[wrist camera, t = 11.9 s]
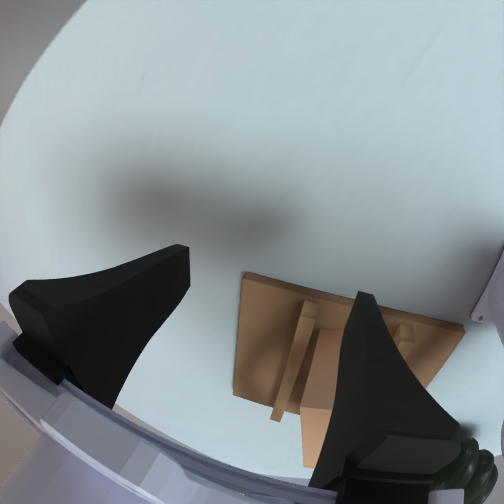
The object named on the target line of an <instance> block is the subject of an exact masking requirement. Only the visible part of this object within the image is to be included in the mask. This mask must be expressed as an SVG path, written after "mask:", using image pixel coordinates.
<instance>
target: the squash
mask: <svg viewBox="0 0 504 504" xmlns="http://www.w3.org/2000/svg"><path fill="white" fill-rule="evenodd" d="M460 438H461V437H460ZM497 478H498V471H497V468H496V466H495V464H494V456H493V454H492V453H491V452H489V451H488V450H485V449H482V450H479V445H478V442H477V441H476V440H475V439H474V438H469V439H466V440H464V441H463V440H462V438H461V452H460V453H459V455H458V456H457V457H456V458H455V459H454V460H453V461H452V462H451V463H449V464H448V465H446V466H445V467H443V468H442V469H440V470H439V471H437V472H435V481H434V483H433V484H430V487H429V492H432V491H436V490H451V489H463V490H464V502H463V504H482V503H483V502H484V501H485V500H486V498H487V497H488V496H489V495H490V493H491V492H492V490H493V488H494V486H495V484H496V481H497Z"/></svg>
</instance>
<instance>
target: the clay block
mask: <svg viewBox="0 0 504 504" xmlns="http://www.w3.org/2000/svg"><path fill="white" fill-rule="evenodd" d="M343 332H344V330H325V329H320V331H319V335H318V339H317V344H316V348H315V352H314V356H313V360H312V364H311V368H310V372H309V375H308V379H307V383H306V387H305V390H304V394H303V397H302V401H301V404H300V417H301V432H302V448H303V467H308V468H315V466H316V463H317V460H318V458H319V454H320V451H321V448H322V445H323V442H324V439H325V435H326V432H327V428H328V425H329V421H330V417H331V413H332V409H333V405H334V399H335V392H336V384H337V374H338V364H339V354H340V347H341V342H342V337H343Z"/></svg>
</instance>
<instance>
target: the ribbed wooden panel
mask: <svg viewBox="0 0 504 504" xmlns="http://www.w3.org/2000/svg"><path fill="white" fill-rule="evenodd" d="M354 302H355V300H354V299H350V298H346V297H342V296H338V295H334V294H330V293H326V292H322V291H318V290H314V289H310V288H306V287H302V286H298V285H295V284H291V283H287V282H283V281H279V280H275V279H272V278H268V277H264V276H260V275H257V274H253V273H249V272H246V274H245V275H244V277H243V280H242V291H241V303H240V315H239V327H238V339H237V351H236V363H235V375H234V388H233V395H235V396H238V397H241V398H244V399H247V400H250V401H253V402H256V403H259V404H263V405H266V406H269V407H273V411H272V415H271V418H270V419H271V420H274V421H278V422H280V421H281V418H282V415H283V413H284V411H287V412H290V413H294V414H298V415H300V404H301V401H302V397H303V394H304V390H305V387H306V383H307V379H308V375H309V372H310V368H311V364H312V360H313V356H314V352H315V348H316V344H317V339H318V335H319V331H320V329H325V330H344V328H345V325H346V323H347V320H348V317H349V315H350V312H351V310H352V307H353V304H354ZM378 307H379V310H380V312H381V314H382V317H383V319H384V321H385V324H386V326H387V328H388V330H389V332H390V334H391V336H392V338H393V340H394V342H395V344H396V346H397V348H398V350H399V352H400V353H401V355H402V357H403V358H404V360H405V361H406V363H407V365H408V366H409V368H410V369H411V371H412V372H413V373H414V375H415V376H416V378H417V379H418V380H419V381H420V383H421V384H422V385H423V387H424V388H426V387H427V386H428V384H429V383H430V382H431V381H432V379H433V378H434V377H435V375H436V374H437V373H438V372H439V370H440V369H441V368H442V366H443V365H444V364H445V362H446V361H447V359H448V358H449V357H450V355H451V354H452V352H453V351H454V349H455V348H456V347H457V345H458V344H459V342H460V341H461V339H462V338H463V336H464V334H465V330H464V327H463V325H459V324H455V323H450V322H446V321H441V320H437V319H433V318H428V317H424V316H420V315H416V314H411V313H407V312H403V311H399V310H395V309H390V308H386V307H382V306H378Z"/></svg>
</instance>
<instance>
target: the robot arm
mask: <svg viewBox="0 0 504 504" xmlns="http://www.w3.org/2000/svg"><path fill="white" fill-rule="evenodd" d="M189 287H190V257H189V247H187V246H183V245H179V244H175V245H172V246H169V247H166V248H164V249H161V250H158V251H156V252H153V253H151V254H148V255H146V256H143V257H141V258H138V259H136V260H133V261H130V262H127V263H124V264H122V265H119V266H116V267H113V268H110V269H106V270H102V271H99V272H95V273H90V274H85V275H80V276H75V277H68V278H60V279H46V280H26V281H25V282H23V283H22V284H21V285H20V286H18V287H17V288H16V289H14V290H13V291H12V292H11V293H10V294H9V303H10V307H11V309H12V311H13V313H14V316H15V318H16V320H17V322H18V324H19V326H20V328H21V330H22V332H23V333H22V334H20V335H19V336H18V334H17V333H16V332H15V331H14V330H13V329H12V328H11V327H10V326H9V325H8V324H7V323H6V322H5V321H2V322H1V323H0V393H1V394H2V395H3V396H4V398H5V399H6V400H7V401H8V402H9V403H10V404H11V405H12V406H13V407H14V408H15V410H16V411H17V412H18V413H19V414H20V415H21V416H22V417H23V418H24V419H25V420H26V421H27V422H28V423H29V424H30V425H31V426H32V427H33V428H35V429H36V430H37V431H38V432H39V433H40V434H41V436H40V437H39V438H38V440H37V441H36V442H35V443H34V445H33V446H32V447H31V449H30V450H29V451H28V452H27V453H26V455H25V456H24V457H23V459H22V460H21V461H20V463H19V464H18V465H17V466H16V468H15V469H14V470H13V472H12V473H11V474H10V475H9V477H8V478H7V480H6V481H5V482H4V484H3V485H2V486H1V488H0V504H463V502H464V490H463V489H451V490H436V491H432V492H429V487H430V484H433V483H434V481H435V472H437V471H439V470H440V469H442V468H443V467H445V466H446V465H448V464H449V463H451V462H452V461H453V460H454V459H455V458H456V457H457V456H458V455H459V453H460V452H461V438H460V428H459V423H458V422H457V421H456V420H455V419H454V418H453V417H452V416H450V415H449V414H448V413H447V412H446V411H445V410H444V409H443V408H442V407H441V406H440V405H439V404H438V403H437V402H436V401H435V400H434V398H433V397H432V396H431V395H430V394H429V393H428V392H427V390H426V389H425V388H424V387H423V385H422V384H421V383H420V381H419V380H418V379H417V378H416V376H415V375H414V373H413V372H412V371H411V369H410V368H409V366H408V365H407V363H406V361H405V360H404V358H403V357H402V355H401V353H400V352H399V350H398V348H397V346H396V344H395V342H394V340H393V338H392V336H391V334H390V332H389V330H388V328H387V326H386V324H385V321H384V319H383V317H382V314H381V312H380V310H379V307H378V305H377V302H376V300H375V298H374V296H373V294H369V293H365V292H361V291H358V293H357V296H356V299H355V302H354V304H353V307H352V310H351V312H350V315H349V317H348V320H347V323H346V325H345V328H344V332H343V337H342V342H341V347H340V354H339V364H338V374H337V384H336V392H335V399H334V405H333V409H332V413H331V417H330V421H329V425H328V428H327V432H326V435H325V439H324V442H323V445H322V448H321V451H320V454H319V458H318V460H317V463H316V466H315V469H314V472H313V474H312V477H311V480H310V482H309V485H308V486H303V485H298V484H293V483H289V482H285V481H281V480H277V479H273V478H269V477H266V476H263V475H259V474H256V473H252V472H249V471H246V470H243V469H240V468H237V467H234V466H231V465H228V464H225V463H222V462H220V461H217V460H214V459H211V458H209V457H206V456H204V455H201V454H199V453H196V452H194V451H192V450H189V449H187V448H185V447H182V446H180V445H178V444H175V443H173V442H171V441H169V440H167V439H165V438H163V437H161V436H159V435H157V434H155V433H153V432H151V431H149V430H147V429H145V428H143V427H141V426H139V425H137V424H135V423H134V422H132V421H130V420H128V419H126V418H124V417H123V416H121V415H119V414H118V413H116V412H114V411H113V410H112V408H113V406H114V404H115V402H116V399H117V397H118V395H119V393H120V391H121V389H122V387H123V385H124V383H125V381H126V379H127V377H128V375H129V373H130V371H131V369H132V368H133V366H134V364H135V362H136V361H137V359H138V357H139V356H140V354H141V353H142V351H143V349H144V348H145V346H146V345H147V343H148V342H149V340H150V339H151V338H152V336H153V335H154V334H155V333H156V331H157V330H158V329H159V328H160V327H161V325H162V324H163V323H164V322H165V320H166V319H167V318H168V317H169V316H170V314H171V313H172V312H173V311H174V310H175V308H176V307H177V306H178V305H179V303H180V302H181V300H182V299H183V297H184V295H185V294H186V292H187V290H188V289H189ZM480 316H481V317H480ZM479 317H480V318H479ZM471 319H472V321H473V322H477V323H482V324H486V325H491V326H495V327H496V329H497V331H498V334H499V337H500V339H501V342H502V345H503V348H504V251H503V253H502V255H501V257H500V260H499V262H498V264H497V266H496V268H495V270H494V273H493V275H492V277H491V279H490V281H489V283H488V285H487V287H486V289H485V290H484V292H483V294H482V296H481V298H480V300H479V302H478V303H477V305H476V307H475V309H474V311H473V312H472V314H471ZM501 449H502V455H503V458H504V421H503V425H502V430H501ZM232 490H233V491H232ZM235 491H236V492H235ZM237 492H239V493H237ZM240 493H242V494H245V495H242V494H240Z"/></svg>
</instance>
